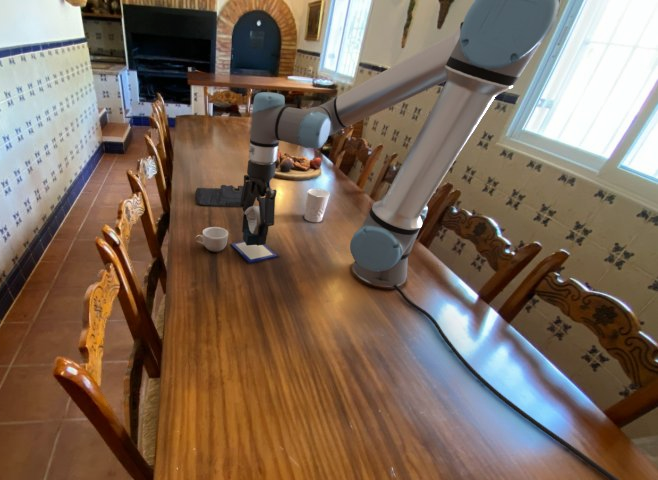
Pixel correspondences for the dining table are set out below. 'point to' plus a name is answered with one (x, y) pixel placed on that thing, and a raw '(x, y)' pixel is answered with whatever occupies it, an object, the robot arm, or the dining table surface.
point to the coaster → (253, 252)
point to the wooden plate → (296, 167)
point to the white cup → (316, 204)
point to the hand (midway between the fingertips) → (253, 237)
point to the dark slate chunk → (219, 196)
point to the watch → (252, 225)
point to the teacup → (214, 238)
